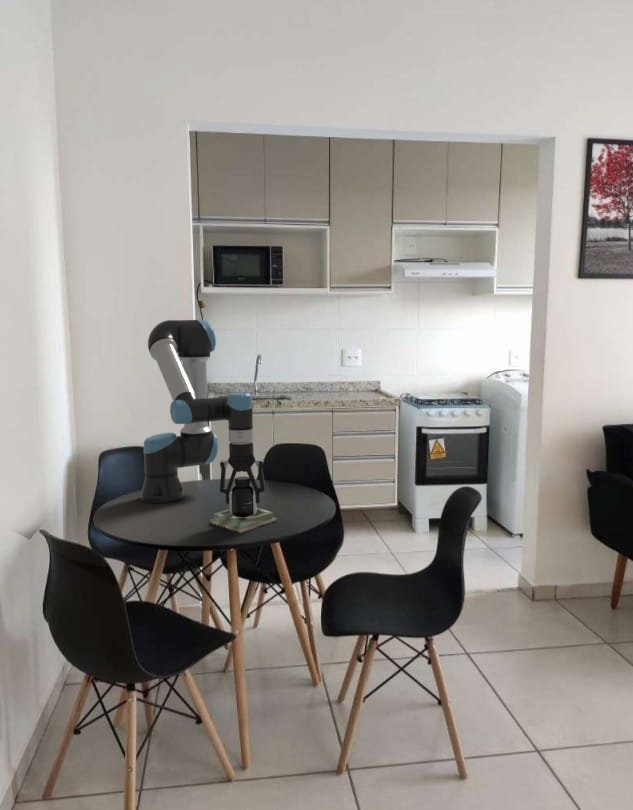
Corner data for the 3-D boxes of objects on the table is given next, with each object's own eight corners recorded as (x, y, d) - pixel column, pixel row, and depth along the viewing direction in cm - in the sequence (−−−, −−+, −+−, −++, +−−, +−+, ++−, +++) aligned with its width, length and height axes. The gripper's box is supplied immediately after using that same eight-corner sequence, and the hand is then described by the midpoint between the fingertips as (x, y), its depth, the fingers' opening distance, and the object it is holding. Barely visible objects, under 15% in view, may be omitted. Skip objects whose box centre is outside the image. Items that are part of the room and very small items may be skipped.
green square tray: (210, 522, 197) (209, 513, 197) (246, 512, 208) (246, 503, 208) (240, 533, 187) (240, 523, 187) (276, 521, 198) (276, 512, 197)
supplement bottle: (250, 518, 193) (249, 481, 192) (229, 517, 195) (228, 480, 193) (256, 512, 200) (255, 475, 198) (236, 511, 201) (235, 475, 200)
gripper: (207, 445, 190) (210, 517, 193) (272, 443, 191) (273, 516, 194) (211, 440, 198) (213, 510, 201) (273, 439, 198) (274, 509, 201)
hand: (243, 513), depth 197 cm, fingers closed on supplement bottle, 7 cm apart
